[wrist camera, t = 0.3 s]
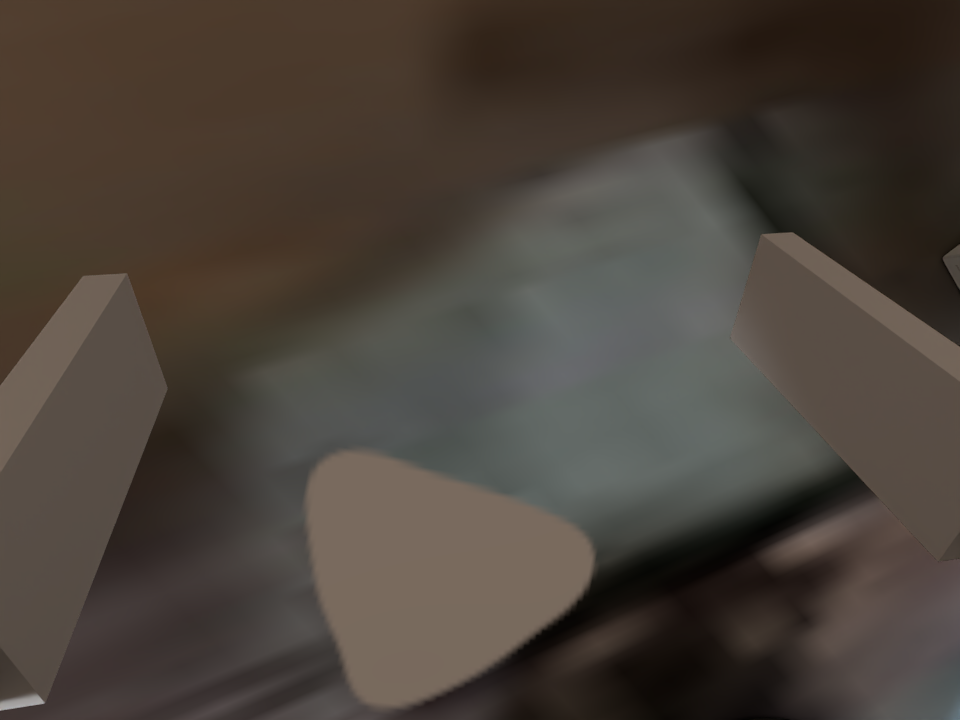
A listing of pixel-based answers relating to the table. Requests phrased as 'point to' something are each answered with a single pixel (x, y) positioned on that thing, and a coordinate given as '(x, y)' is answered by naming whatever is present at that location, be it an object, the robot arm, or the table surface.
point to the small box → (953, 264)
